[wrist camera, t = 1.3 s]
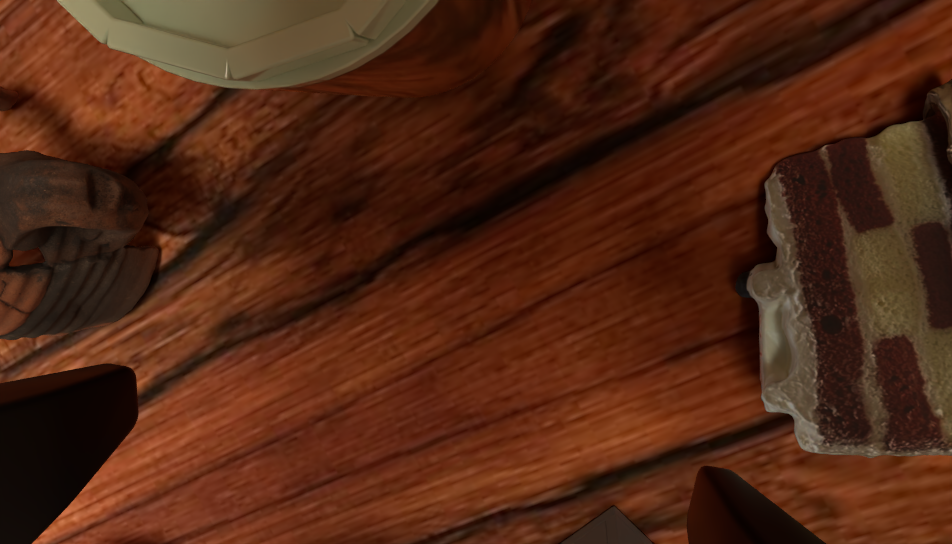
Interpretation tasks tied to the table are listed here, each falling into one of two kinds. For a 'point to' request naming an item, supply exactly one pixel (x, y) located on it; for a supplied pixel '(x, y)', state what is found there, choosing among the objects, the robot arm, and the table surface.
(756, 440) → the table surface
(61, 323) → the brown ring
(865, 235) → the chocolate cake
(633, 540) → the bin
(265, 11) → the lidded wooden canister
